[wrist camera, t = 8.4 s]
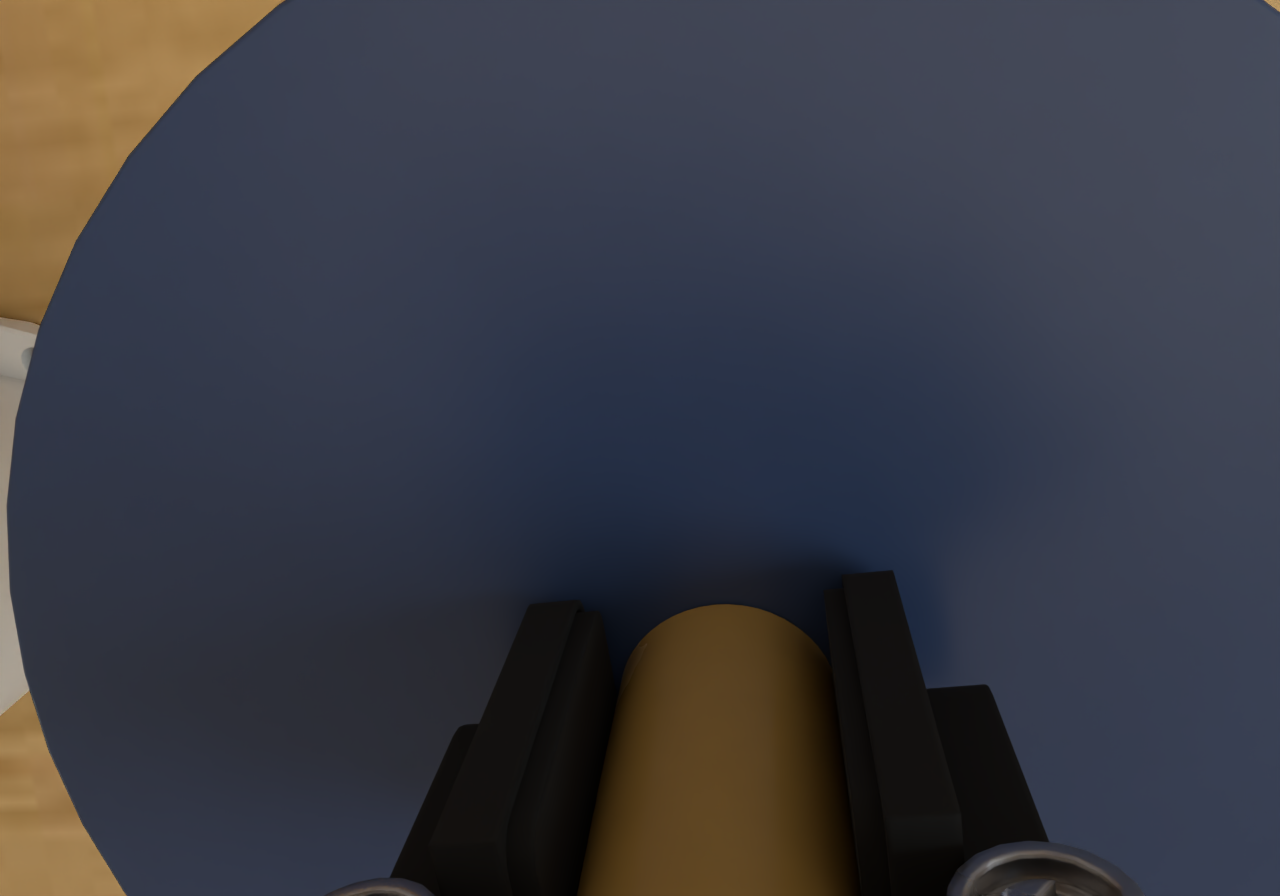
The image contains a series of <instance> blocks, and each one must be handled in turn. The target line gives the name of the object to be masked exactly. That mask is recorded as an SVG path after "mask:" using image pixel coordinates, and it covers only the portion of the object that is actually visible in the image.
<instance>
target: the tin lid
mask: <svg viewBox="0 0 1280 896" xmlns="http://www.w3.org/2000/svg"><path fill="white" fill-rule="evenodd" d="M6 508H7V534H8V560H9V586H10V596H11V602H12V607H13V613H14V618H15V624H16V630H17V635H18V641H19V647H20V652H21V658H22V664H23V669H24V674H25V677H26V681H27V684H28V687H29V690H30V693H31V696H32V700H33V703H34V706H35V709H36V712H37V715H38V718H39V722H40V725H41V728H42V731H43V734H44V737H45V741H46V744H47V747H48V750H49V753H50V755H51V757H52V759H53V761H54V763H55V766H56V768H57V770H58V772H59V774H60V776H61V779H62V781H63V783H64V785H65V787H66V789H67V792H68V794H69V796H70V798H71V800H72V802H73V805H74V807H75V809H76V811H77V813H78V816H79V818H80V820H81V822H82V824H83V826H84V828H85V829H86V831H87V832H88V834H89V836H90V837H91V839H92V841H93V842H94V844H95V845H96V847H97V849H98V850H99V852H100V854H101V855H102V857H103V858H104V860H105V862H106V863H107V865H108V867H109V868H110V870H111V871H112V873H113V875H114V876H115V878H116V880H117V881H118V883H119V884H120V886H121V888H122V889H123V891H124V892H125V894H126V895H127V896H324V895H326V894H327V893H329V892H332V891H334V890H337V889H339V888H342V887H344V886H347V885H349V884H352V883H355V882H360V881H365V880H370V879H375V878H389V877H390V875H391V873H392V871H393V869H394V866H395V864H396V862H397V860H398V857H399V855H400V853H401V851H402V848H403V846H404V844H405V842H406V840H407V837H408V835H409V833H410V831H411V828H412V826H413V824H414V822H415V820H416V817H417V815H418V813H419V811H420V808H421V806H422V804H423V802H424V800H425V797H426V795H427V793H428V791H429V788H430V786H431V784H432V782H433V779H434V777H435V775H436V773H437V771H438V768H439V766H440V764H441V762H442V759H443V757H444V755H445V753H446V751H447V748H448V746H449V744H450V742H451V739H452V737H453V735H454V734H455V732H456V731H457V729H458V727H460V726H463V725H466V724H479V723H480V720H481V718H482V716H483V713H484V711H485V708H486V706H487V704H488V701H489V699H490V697H491V694H492V692H493V689H494V687H495V685H496V682H497V680H498V677H499V675H500V673H501V670H502V668H503V665H504V663H505V661H506V658H507V656H508V653H509V651H510V649H511V646H512V644H513V641H514V639H515V637H516V634H517V632H518V629H519V627H520V625H521V622H522V620H523V617H524V615H525V613H526V610H527V608H528V606H529V605H530V604H536V603H546V602H557V601H568V600H580V601H581V602H582V604H583V607H584V610H585V612H588V611H599V612H600V613H601V616H602V619H603V624H604V629H605V634H606V639H607V645H608V650H609V656H610V661H611V666H612V672H613V677H614V683H615V688H616V693H617V703H616V708H615V713H614V717H613V722H612V727H611V731H610V736H609V741H608V745H607V750H606V755H605V759H604V764H603V769H602V773H601V778H600V783H599V787H598V792H597V797H596V801H595V806H594V811H593V815H592V820H591V825H590V829H589V834H588V839H587V843H586V848H585V853H584V857H583V862H582V867H581V872H580V876H579V881H578V886H577V890H576V895H575V896H861V890H860V883H859V875H858V867H857V860H856V852H855V844H854V837H853V829H852V821H851V814H850V806H849V798H848V791H847V783H846V775H845V768H844V760H843V752H842V745H841V737H840V729H839V722H838V714H837V706H836V699H835V691H834V683H833V675H832V666H831V657H830V648H829V639H828V630H827V621H826V611H825V602H824V593H823V590H826V589H837V588H842V575H844V574H855V573H865V572H876V571H887V570H893V572H894V575H895V579H896V582H897V586H898V590H899V593H900V597H901V600H902V604H903V607H904V611H905V615H906V618H907V622H908V625H909V629H910V633H911V636H912V640H913V643H914V647H915V650H916V654H917V658H918V661H919V665H920V668H921V672H922V676H923V679H924V683H925V686H926V689H929V688H942V687H955V686H968V685H981V684H986V685H988V686H989V688H990V690H991V692H992V694H993V696H994V699H995V701H996V704H997V707H998V709H999V712H1000V714H1001V717H1002V720H1003V722H1004V725H1005V728H1006V730H1007V733H1008V735H1009V738H1010V741H1011V743H1012V746H1013V748H1014V751H1015V754H1016V756H1017V759H1018V761H1019V764H1020V767H1021V769H1022V772H1023V774H1024V777H1025V780H1026V782H1027V785H1028V788H1029V790H1030V793H1031V795H1032V798H1033V801H1034V803H1035V806H1036V808H1037V811H1038V814H1039V816H1040V819H1041V821H1042V824H1043V827H1044V829H1045V832H1046V834H1047V837H1048V840H1049V842H1052V843H1060V844H1064V845H1067V846H1071V847H1075V848H1078V849H1082V850H1086V851H1089V852H1091V853H1093V854H1095V855H1097V856H1098V857H1100V858H1102V859H1104V860H1106V861H1108V862H1110V863H1112V864H1114V865H1116V866H1117V867H1118V868H1119V869H1120V870H1122V871H1123V872H1124V873H1125V874H1126V875H1128V876H1129V877H1130V878H1131V879H1132V880H1133V881H1135V882H1136V883H1137V884H1138V886H1139V887H1140V889H1141V891H1142V892H1143V894H1144V895H1145V896H1280V12H1279V11H1277V10H1276V9H1275V8H1273V7H1272V6H1271V5H1269V4H1268V3H1267V2H1265V1H1264V0H285V1H283V2H282V3H280V4H279V5H278V6H276V7H275V8H274V9H273V10H272V11H271V12H270V13H268V14H267V15H266V16H265V17H264V18H263V19H261V20H260V21H259V22H258V23H257V24H256V25H255V26H253V27H252V28H251V29H250V30H249V31H248V32H246V33H245V34H244V35H243V36H242V37H241V38H240V39H238V40H237V41H236V42H235V43H234V44H233V45H231V46H230V47H229V48H228V49H227V50H226V51H224V52H223V53H222V54H221V55H220V56H219V57H218V58H216V59H215V60H214V61H213V62H212V63H211V64H209V65H208V66H207V67H206V68H205V69H204V70H203V71H201V72H200V73H199V74H198V75H197V76H196V77H195V78H194V79H193V80H192V82H191V83H190V84H189V85H188V86H187V88H186V89H185V90H184V91H183V92H182V93H181V95H180V96H179V97H178V98H177V99H176V100H175V102H174V103H173V104H172V105H171V106H170V107H169V109H168V110H167V111H166V112H165V113H164V115H163V116H162V117H161V118H160V119H159V120H158V122H157V123H156V124H155V125H154V126H153V127H152V129H151V130H150V131H149V132H148V133H147V135H146V136H145V137H144V138H143V139H142V140H141V142H140V143H139V144H138V145H137V146H136V147H135V149H134V150H133V151H132V152H131V153H130V155H129V156H128V157H127V159H126V161H125V162H124V164H123V166H122V167H121V169H120V170H119V172H118V174H117V175H116V177H115V179H114V180H113V182H112V183H111V185H110V187H109V188H108V190H107V191H106V193H105V195H104V196H103V198H102V200H101V201H100V203H99V204H98V206H97V208H96V209H95V211H94V213H93V214H92V216H91V217H90V219H89V221H88V222H87V224H86V226H85V227H84V229H83V230H82V232H81V234H80V235H79V237H78V238H77V240H76V242H75V244H74V247H73V249H72V251H71V254H70V256H69V258H68V261H67V263H66V265H65V268H64V270H63V272H62V275H61V277H60V280H59V282H58V284H57V287H56V289H55V291H54V294H53V296H52V298H51V301H50V303H49V306H48V308H47V310H46V313H45V315H44V317H43V320H42V322H41V324H40V327H39V329H38V333H37V337H36V340H35V344H34V348H33V352H32V356H31V360H30V364H29V368H28V372H27V376H26V379H25V383H24V387H23V391H22V395H21V399H20V403H19V407H18V411H17V415H16V419H15V429H14V438H13V448H12V457H11V467H10V476H9V486H8V495H7V505H6Z"/></svg>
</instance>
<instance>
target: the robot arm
mask: <svg viewBox="0 0 1280 896" xmlns="http://www.w3.org/2000/svg"><path fill="white" fill-rule="evenodd" d="M39 327H40V325H37V324H34V323H32V322H27V321H21V320H15V319H9V318H2V317H0V715H2V714H3V713H4V712H5V711H6V710H7V709H8V708H10V707H11V706H12V705H13V704H14V703H15V702H17V701H18V700H19V699H20V698H21V697H22V696H24V695H25V694H26V693H27V692H28V691H29V687H28V684H27V681H26V677H25V674H24V669H23V664H22V658H21V652H20V647H19V641H18V635H17V630H16V624H15V618H14V613H13V607H12V602H11V596H10V586H9V560H8V534H7V508H6V505H7V495H8V486H9V476H10V467H11V457H12V448H13V438H14V429H15V419H16V415H17V411H18V407H19V403H20V399H21V395H22V391H23V387H24V383H25V379H26V376H27V372H28V368H29V364H30V360H31V356H32V352H33V348H34V344H35V340H36V337H37V333H38V329H39ZM823 593H824V602H825V611H826V621H827V630H828V639H829V648H830V657H831V666H832V675H833V683H834V691H835V699H836V706H837V714H838V722H839V729H840V737H841V745H842V752H843V760H844V768H845V775H846V783H847V791H848V798H849V806H850V814H851V821H852V829H853V837H854V844H855V852H856V860H857V867H858V875H859V883H860V890H861V896H1145V895H1144V894H1143V892H1142V891H1141V889H1140V887H1139V886H1138V884H1137V883H1136V882H1135V881H1133V880H1132V879H1131V878H1130V877H1129V876H1128V875H1126V874H1125V873H1124V872H1123V871H1122V870H1120V869H1119V868H1118V867H1117V866H1116V865H1114V864H1112V863H1110V862H1108V861H1106V860H1104V859H1102V858H1100V857H1098V856H1097V855H1095V854H1093V853H1091V852H1089V851H1086V850H1082V849H1078V848H1075V847H1071V846H1067V845H1064V844H1060V843H1052V842H1049V840H1048V837H1047V834H1046V832H1045V829H1044V827H1043V824H1042V821H1041V819H1040V816H1039V814H1038V811H1037V808H1036V806H1035V803H1034V801H1033V798H1032V795H1031V793H1030V790H1029V788H1028V785H1027V782H1026V780H1025V777H1024V774H1023V772H1022V769H1021V767H1020V764H1019V761H1018V759H1017V756H1016V754H1015V751H1014V748H1013V746H1012V743H1011V741H1010V738H1009V735H1008V733H1007V730H1006V728H1005V725H1004V722H1003V720H1002V717H1001V714H1000V712H999V709H998V707H997V704H996V701H995V699H994V696H993V694H992V692H991V690H990V688H989V686H988V685H986V684H981V685H968V686H955V687H942V688H929V689H926V686H925V683H924V679H923V676H922V672H921V668H920V665H919V661H918V658H917V654H916V650H915V647H914V643H913V640H912V636H911V633H910V629H909V625H908V622H907V618H906V615H905V611H904V607H903V604H902V600H901V597H900V593H899V590H898V586H897V582H896V579H895V575H894V572H893V570H887V571H876V572H865V573H855V574H844V575H842V588H837V589H826V590H823ZM616 703H617V693H616V688H615V683H614V677H613V672H612V666H611V661H610V656H609V650H608V645H607V639H606V634H605V629H604V624H603V619H602V616H601V613H600V612H599V611H588V612H585V610H584V607H583V604H582V602H581V601H580V600H568V601H557V602H546V603H536V604H530V605H529V606H528V608H527V610H526V613H525V615H524V617H523V620H522V622H521V625H520V627H519V629H518V632H517V634H516V637H515V639H514V641H513V644H512V646H511V649H510V651H509V653H508V656H507V658H506V661H505V663H504V665H503V668H502V670H501V673H500V675H499V677H498V680H497V682H496V685H495V687H494V689H493V692H492V694H491V697H490V699H489V701H488V704H487V706H486V708H485V711H484V713H483V716H482V718H481V720H480V723H479V724H466V725H463V726H460V727H458V729H457V731H456V732H455V734H454V735H453V737H452V739H451V742H450V744H449V746H448V748H447V751H446V753H445V755H444V757H443V759H442V762H441V764H440V766H439V768H438V771H437V773H436V775H435V777H434V779H433V782H432V784H431V786H430V788H429V791H428V793H427V795H426V797H425V800H424V802H423V804H422V806H421V808H420V811H419V813H418V815H417V817H416V820H415V822H414V824H413V826H412V828H411V831H410V833H409V835H408V837H407V840H406V842H405V844H404V846H403V848H402V851H401V853H400V855H399V857H398V860H397V862H396V864H395V866H394V869H393V871H392V873H391V875H390V877H389V878H375V879H370V880H365V881H360V882H355V883H352V884H349V885H347V886H344V887H342V888H339V889H337V890H334V891H332V892H329V893H327V894H326V895H324V896H575V895H576V890H577V886H578V881H579V876H580V872H581V867H582V862H583V857H584V853H585V848H586V843H587V839H588V834H589V829H590V825H591V820H592V815H593V811H594V806H595V801H596V797H597V792H598V787H599V783H600V778H601V773H602V769H603V764H604V759H605V755H606V750H607V745H608V741H609V736H610V731H611V727H612V722H613V717H614V713H615V708H616Z"/></svg>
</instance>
